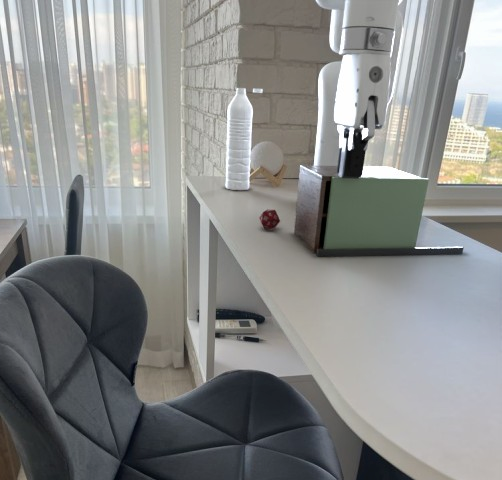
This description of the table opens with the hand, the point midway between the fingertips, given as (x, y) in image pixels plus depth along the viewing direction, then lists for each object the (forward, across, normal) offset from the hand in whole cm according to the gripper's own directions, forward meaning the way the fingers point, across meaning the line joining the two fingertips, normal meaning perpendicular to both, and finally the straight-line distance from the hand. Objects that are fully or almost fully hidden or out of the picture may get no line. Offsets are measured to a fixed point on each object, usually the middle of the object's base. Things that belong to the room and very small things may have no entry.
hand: (349, 174), depth 82 cm
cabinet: (+14, +6, -10) cm, 18 cm away
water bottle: (+14, +60, +5) cm, 62 cm away
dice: (+14, +17, +8) cm, 23 cm away
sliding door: (+13, 0, -6) cm, 14 cm away
